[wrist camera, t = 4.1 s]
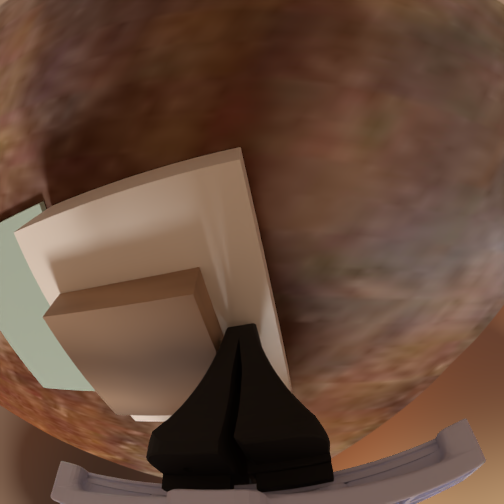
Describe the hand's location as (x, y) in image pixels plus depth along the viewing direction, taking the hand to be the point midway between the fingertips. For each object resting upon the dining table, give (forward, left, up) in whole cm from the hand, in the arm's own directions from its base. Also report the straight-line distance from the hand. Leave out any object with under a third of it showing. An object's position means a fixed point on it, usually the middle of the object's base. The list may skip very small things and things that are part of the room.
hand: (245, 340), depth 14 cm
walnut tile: (0, +5, -1) cm, 5 cm away
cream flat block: (0, +4, -5) cm, 6 cm away
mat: (0, +17, -5) cm, 18 cm away
